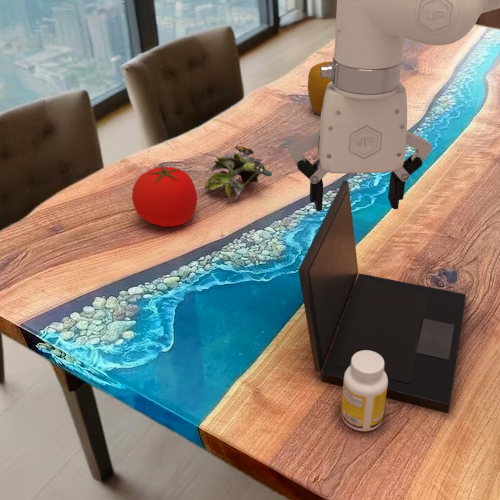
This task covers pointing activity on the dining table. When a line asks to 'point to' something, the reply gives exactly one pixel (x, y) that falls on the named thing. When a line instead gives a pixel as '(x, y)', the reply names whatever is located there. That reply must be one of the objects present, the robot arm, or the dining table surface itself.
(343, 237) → the laptop screen
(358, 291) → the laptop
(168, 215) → the tomato
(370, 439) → the dining table surface
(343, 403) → the supplement bottle
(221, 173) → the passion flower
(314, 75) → the apple
